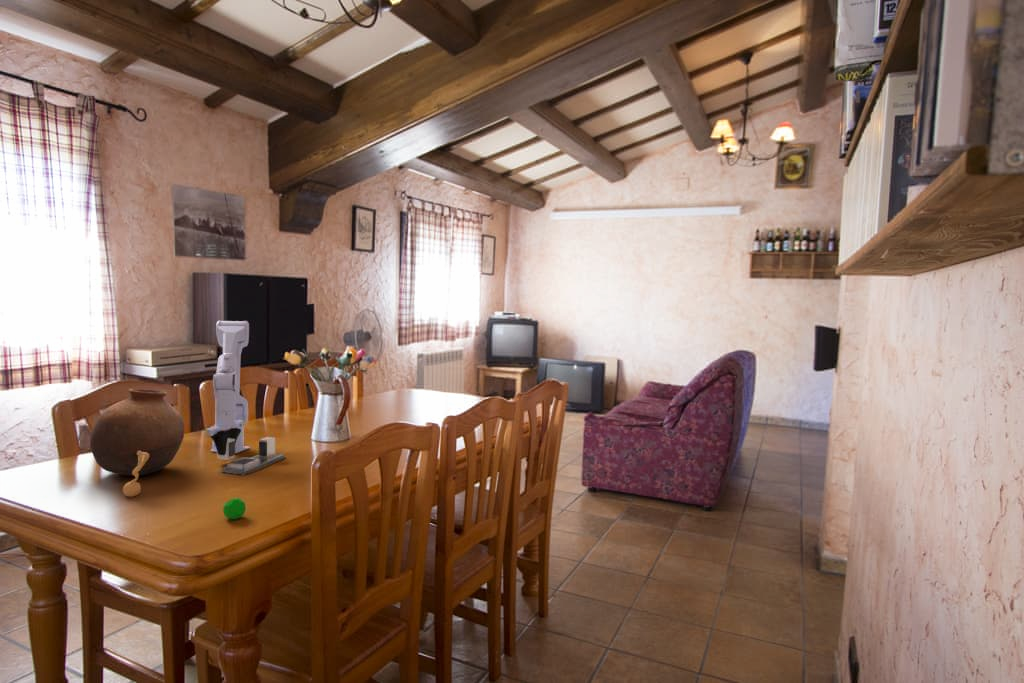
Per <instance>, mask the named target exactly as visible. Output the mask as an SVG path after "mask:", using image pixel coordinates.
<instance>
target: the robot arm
mask: <svg viewBox="0 0 1024 683" xmlns="http://www.w3.org/2000/svg"><path fill="white" fill-rule="evenodd" d="M215 334H216V335H215V337H216V338H217V342H218V344H219V346H220V347H222V354H221V355H219V357H218V358H217V364H216V365H217V366H216V371H215V374H213V377H212V388H213V396H214V403H215V404H214V405H215V406H214V408H215V409H214V412H215V413H214V422H215V423H214V425H212V426H209V428H206V429H205V436H208V437H210V438H211V440H212V442H211V443H212V444H211V449H210V451H211V452H213V453H215V452H216V453H217V452H218V455H225V453H226V444H227V439H228V438H232V439H235V454H237V453H241V452H243V451H245V450H248V449H250V446H245V442H244V441H245V439H244V436H245V435H244V432H245V431H244V428H245V427H244V426H245V424H246V423H248V421H249V402H248V400H247V399H246V398H245V397H244V396H243V395H241V394H240V391H241V390H240V388H241V387H240V386H241V359H242V358H241V354H242V352H243V348H245V347H248V345H249V339H250V338H249V337H250V336H249V335H250V323H249V322H248V320H242V321H239V320H235V321H234V320H233V321H232V320H218V321H217V322H216V325H215Z"/></svg>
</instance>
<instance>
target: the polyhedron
mask: <svg viewBox="0 0 1024 683" xmlns="http://www.w3.org/2000/svg"><path fill="white" fill-rule="evenodd" d="M245 502H246V501H244V499H242V498H239V497H233V498H230V499H228V500H227V501H226V502H225V503H224V506H223V508H222V509H223V510H222V511H223V514H224V517H226V519H229V520H238V519H239V518H241V517H243V516H244V515H245V513H246V510H247V508H246V503H245ZM237 518H238V519H237Z"/></svg>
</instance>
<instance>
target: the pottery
mask: <svg viewBox="0 0 1024 683" xmlns="http://www.w3.org/2000/svg"><path fill="white" fill-rule="evenodd" d="M128 392H129V393H130V396H128V397H126V399H123V400H120V401H118V402H116V403H114V404H112V405H110V406H109V407H108V408H107V409H105V410H104V411H102V412H101V413H100V415H98V417H97V419H96V421H95V423H94V426H93V428H92V430H91V433H90V438H89V446H90V450H91V451H90V452H91V453H92V456H93V457H94V460H95V462H96V464H97V465H98V466H99V467H100V468H101V469H103V470H104V471H106V472H109V473H112V474H116V475H122V476H134V475H133V474H132V472H133V470H134V469H135V468H136V467H137V466H138V465H137V463H138V457H139V456H138V455H137V452H138V451H141V452H146V453H149V458H148V460H147V461H146V462H145V464H144V466H143V467H142V468H141V469H140V471H138V472H137V473H139V476H145V475H150V474H152V473H156V472H157V471H160V470H162V469H163V468H165V467H167V466H168V465H169V464H170V463H171V462H172V461H173V460H174V458H175V457H176V455H177V453H178V452H179V450H180V447H181V445H182V444H183V440H184V436H185V431H186V430H185V426H186V425H185V421H184V418H183V416H182V415H181V413H180V412H179V411H178V410H177V409H176V408H175V407H174V406H172V405H171V404H170V403H169V402H167V401H166V400H164V397H166V395H167V394H168V392H166V391H162V390H153V389H144V388H129V389H128ZM134 477H135V476H134Z"/></svg>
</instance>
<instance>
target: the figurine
mask: <svg viewBox="0 0 1024 683" xmlns="http://www.w3.org/2000/svg"><path fill="white" fill-rule="evenodd" d="M137 455H138V456H139V457H138V463H137V465H138V466H137V467H136V468H135V469H134V470H133V472H132V474H133V475H134V477H135V478H134V479H131V481H128V482H126V483H125V484H124V485H123V488H122V493H123V494H124V495H125V496H126V497H129V498H132V497H133V498H134V497H136V496H138V495H139V494H140V492H141V489H142V488H141V484H140V483H139V482H137V480H138V479H139V476H140V475H139V473H137V472H138V471H140V469H141V468H142V467H143V466H144V464H145V462H146V461H147V460H148V458H149V453H146V452H141V451H138V452H137Z"/></svg>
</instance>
